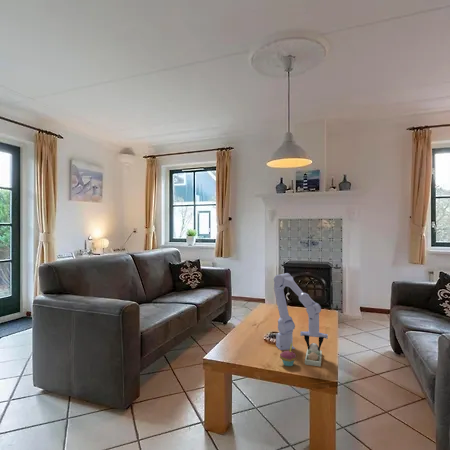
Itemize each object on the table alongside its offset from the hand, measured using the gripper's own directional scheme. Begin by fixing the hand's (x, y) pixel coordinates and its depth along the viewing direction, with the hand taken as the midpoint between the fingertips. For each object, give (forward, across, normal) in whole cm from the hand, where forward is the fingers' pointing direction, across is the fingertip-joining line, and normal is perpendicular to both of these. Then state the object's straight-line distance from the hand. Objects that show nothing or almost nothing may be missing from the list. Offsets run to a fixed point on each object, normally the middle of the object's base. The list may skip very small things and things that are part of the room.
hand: (313, 349), depth 172 cm
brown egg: (+4, 0, +8) cm, 8 cm away
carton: (+4, 0, +4) cm, 6 cm away
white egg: (+1, 0, 0) cm, 1 cm away
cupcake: (+4, +12, +14) cm, 19 cm away
